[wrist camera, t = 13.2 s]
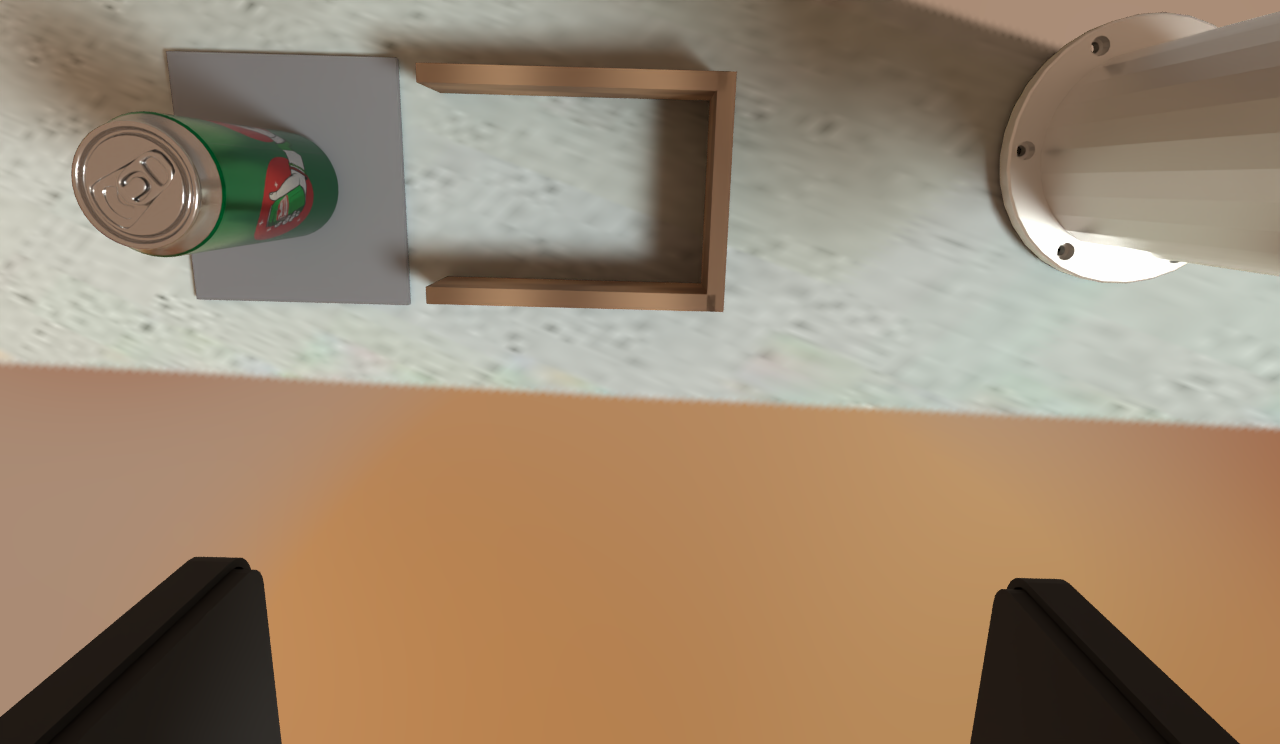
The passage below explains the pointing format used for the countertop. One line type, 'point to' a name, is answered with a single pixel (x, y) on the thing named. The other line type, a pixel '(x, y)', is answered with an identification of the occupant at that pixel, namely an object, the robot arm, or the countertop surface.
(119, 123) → the soda can
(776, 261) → the countertop surface
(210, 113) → the mat
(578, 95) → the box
